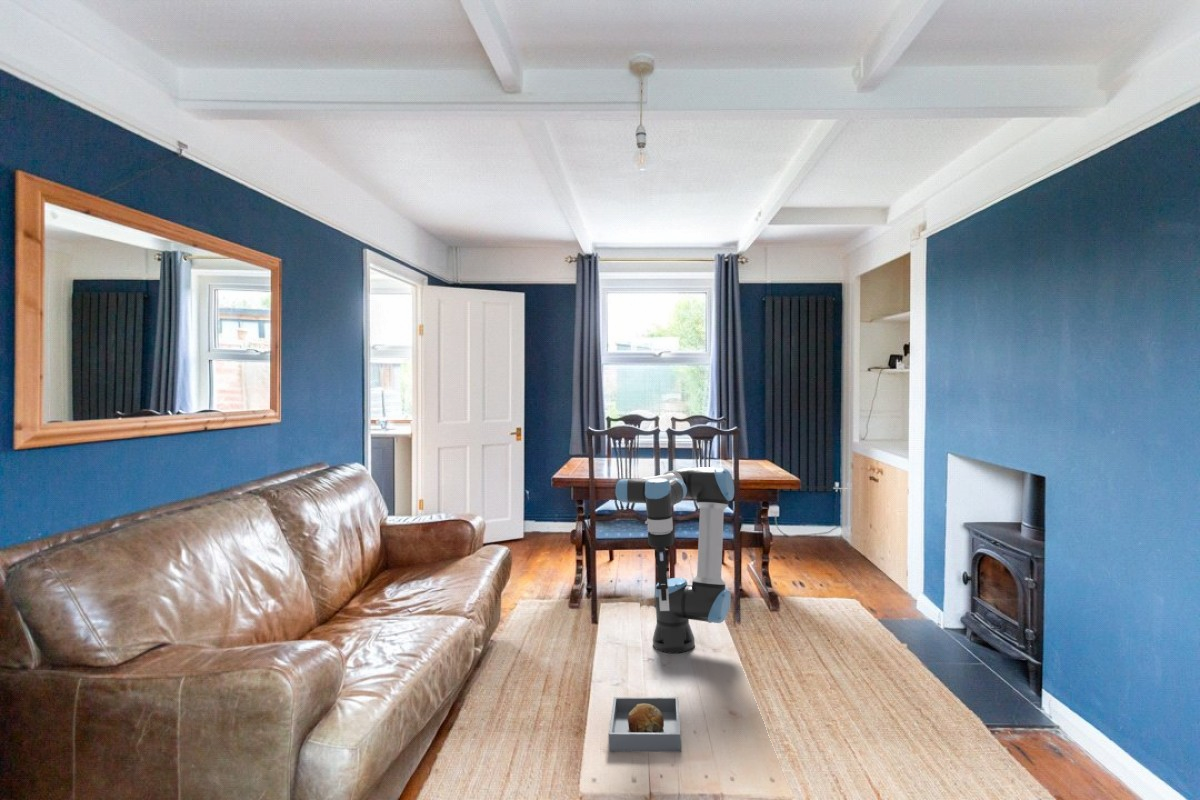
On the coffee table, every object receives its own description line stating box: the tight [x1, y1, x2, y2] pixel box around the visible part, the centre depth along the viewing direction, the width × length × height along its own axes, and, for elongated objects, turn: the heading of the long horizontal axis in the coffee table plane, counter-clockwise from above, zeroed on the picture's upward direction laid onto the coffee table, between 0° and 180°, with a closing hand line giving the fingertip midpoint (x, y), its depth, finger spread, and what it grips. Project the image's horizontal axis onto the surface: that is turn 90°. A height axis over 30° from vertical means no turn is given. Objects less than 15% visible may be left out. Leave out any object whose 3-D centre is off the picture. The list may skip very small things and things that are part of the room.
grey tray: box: [608, 696, 682, 753], centre depth 164 cm, size 19×19×4 cm
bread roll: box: [628, 703, 664, 733], centre depth 164 cm, size 10×10×8 cm
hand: (664, 601), depth 179 cm, fingers open, 13 cm apart
